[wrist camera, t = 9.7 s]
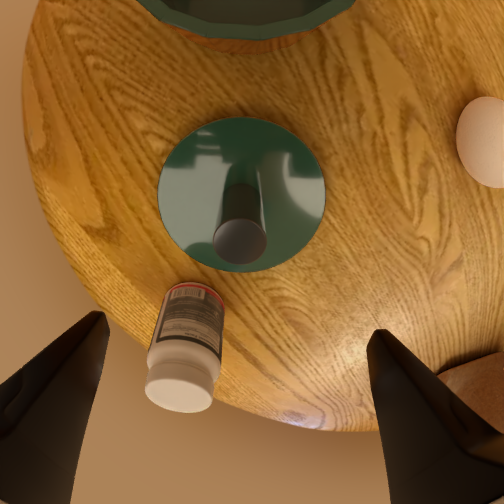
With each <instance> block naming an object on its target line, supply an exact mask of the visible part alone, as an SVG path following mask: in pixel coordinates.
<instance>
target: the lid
mask: <svg viewBox="0 0 504 504" xmlns="http://www.w3.org/2000/svg"><path fill="white" fill-rule="evenodd" d="M157 199H158V208H159V212H160V216H161V219H162V221H163V224H164V226H165V228H166V230H167V232H168V233H169V235H170V236H171V238H172V239H173V241H174V242H175V243H176V244H177V245H178V246H179V247H180V248H181V249H182V250H183V251H184V252H185V253H186V254H188V255H189V256H190V257H192V258H193V259H195V260H197V261H198V262H200V263H202V264H204V265H206V266H209V267H212V268H215V269H218V270H223V271H228V272H241V273H246V272H256V271H261V270H265V269H268V268H272V267H275V266H277V265H279V264H281V263H283V262H285V261H287V260H288V259H290V258H292V257H293V256H294V255H296V254H297V253H298V252H300V251H301V250H302V249H303V248H304V247H305V246H306V245H307V243H308V242H309V241H310V240H311V238H312V237H313V236H314V234H315V232H316V231H317V229H318V227H319V224H320V222H321V220H322V217H323V213H324V209H325V202H326V188H325V181H324V177H323V173H322V170H321V168H320V165H319V163H318V161H317V159H316V158H315V156H314V155H313V153H312V151H311V150H310V149H309V148H308V147H307V145H306V144H305V143H304V142H303V141H302V140H301V139H300V138H299V137H298V136H297V135H295V134H294V133H293V132H291V131H290V130H288V129H287V128H285V127H284V126H281V125H279V124H277V123H275V122H273V121H269V120H266V119H263V118H258V117H251V116H232V117H224V118H221V119H217V120H213V121H211V122H208V123H206V124H204V125H202V126H200V127H198V128H196V129H195V130H193V131H192V132H190V133H189V134H188V135H187V136H185V137H184V138H183V139H182V140H181V141H180V142H179V143H178V144H177V145H176V146H175V147H174V149H173V150H172V152H171V153H170V154H169V156H168V157H167V159H166V161H165V163H164V165H163V168H162V171H161V174H160V177H159V182H158V190H157Z"/></svg>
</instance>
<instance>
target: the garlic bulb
mask: <svg viewBox="0 0 504 504" xmlns="http://www.w3.org/2000/svg"><path fill="white" fill-rule="evenodd" d="M456 144H457V151H458V154H459V157H460V160H461V162H462V164H463V166H464V168H465V169H466V171H467V172H468V173H469V174H470V175H471V177H473V178H474V179H475V180H476V181H478V182H479V183H481V184H483V185H485V186H488V187H492V188H504V101H503V100H501V99H498V98H495V97H480V98H477V99H474V100H473V101H471V102H470V103H469V104H468V105H467V106H466V107H465V108H464V110H463V111H462V113H461V116H460V118H459V120H458V125H457V130H456Z"/></svg>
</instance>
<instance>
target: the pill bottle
mask: <svg viewBox="0 0 504 504" xmlns="http://www.w3.org/2000/svg"><path fill="white" fill-rule="evenodd" d="M224 314H225V308H224V303H223V301H222V299H221V297H220V296H219V295H218V294H217V293H216V292H215V291H214V290H213V289H212V288H210V287H208V286H206V285H204V284H201V283H195V282H185V283H181V284H178V285H176V286H174V287H172V288H171V289H170V290H169V291H168V292H167V293H166V295H165V297H164V299H163V302H162V306H161V309H160V313H159V316H158V319H157V323H156V326H155V330H154V333H153V337H152V340H151V344H150V347H149V350H148V355H147V365H148V368H149V371H148V374H147V380H146V385H145V393H146V395H147V397H148V398H149V399H150V400H151V401H152V402H154V403H155V404H157V405H159V406H160V407H163V408H165V409H168V410H171V411H176V412H184V413H194V412H199V411H202V410H205V409H207V408H208V407H209V406H210V405H211V403H212V400H213V392H214V383H215V382H216V380H217V379H218V377H219V375H220V371H221V357H222V342H223V326H224Z"/></svg>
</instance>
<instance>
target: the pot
mask: <svg viewBox="0 0 504 504" xmlns="http://www.w3.org/2000/svg"><path fill="white" fill-rule="evenodd" d="M136 1H138V2H139V3H140V4H141V5H142V6H143V7H144V8H146V9H147V10H148V11H149V12H150V13H151V14H152V15H153V16H154V17H156V18H157V19H158V20H159V21H160V22H162V23H164V24H165V25H167V26H169V27H170V28H172V29H173V30H175V31H176V32H178V33H180V34H181V35H183V36H184V37H186V38H187V39H189V40H190V41H193V42H195V43H198V44H200V45H203V46H205V47H207V48H210V49H213V50H215V51H218V52H221V53H230V54H243V55H255V54H256V55H258V54H262V53H267V52H272V51H275V50H279V49H282V48H287V47H289V46H291V45H293V44H294V43H296V42H297V41H299V40H301V39H302V38H304V37H305V36H307V35H308V34H310V33H311V32H313V31H315V30H316V29H318V28H319V27H321V26H322V25H324V24H325V23H327V22H328V21H330V20H331V19H333V18H335V17H336V16H338V15H339V14H341V13H343V12H344V11H346V10H348V9H349V8H350V7H352V5H353V4H354V2H355V1H356V0H136Z"/></svg>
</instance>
